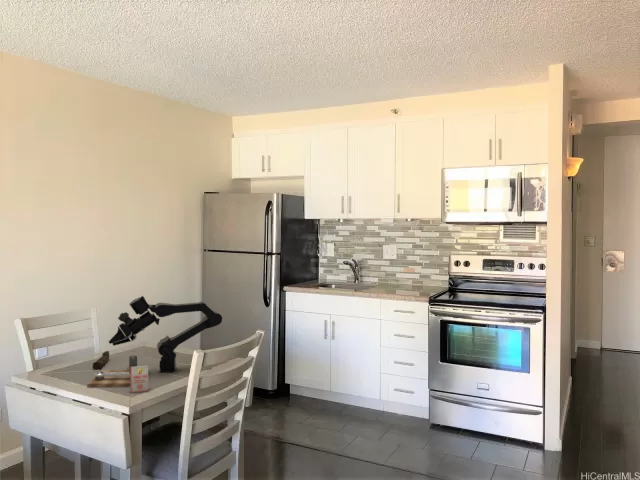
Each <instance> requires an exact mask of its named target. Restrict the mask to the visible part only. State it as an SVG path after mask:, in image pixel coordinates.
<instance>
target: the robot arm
mask: <svg viewBox="0 0 640 480" xmlns="http://www.w3.org/2000/svg"><path fill="white" fill-rule="evenodd" d="M128 305H129V306H130V308H131V309H132V310H133V312H134V314H135V315H139V317H137V318H136V317H134V318H131V317H129V316H130V314H129V313H127V312H126V311H125V312H124V313H123V312H121V313H119V316H118V317H117V320H119V321H120V322H122V323H120V324H119V325H118V327H117V332H116V333H115V334H114V335H113V336H112V337H111V338H110V340H108V343H109V345H110V344H112V346H118V345H122V344H126V343H130V342H134V341H135V340H137V335H138V334H139V333H140V332H143V331H145V329H146V328H148V327H150V326H151V325H152V324H154V323H155V324H156V325H157V326H159V324H160V320H161V319H160V318H165V317H169V316H171V315H174V314H181V313H182V314H183V313H193V312H202V314H204V315H205V316H204V317H203V318H202V319H201V320H199V322H196V323H195V324H193V325H191V326H189V327H188V328H186V329H185V330H183V331H181V332H180V333H178V334H176V335H175V336H172V337H170V336H169V335H166V336H165V337H164V338H162V339H159V341H158V342H157V344H156V350H157V352H158V354H159V355H160V356H161V357H160V360H159V373H175V372H176V370H177V369H178V368H177V353H176V352H175V349H177V347H179V345H181V344H183V343H184V342H186V341H188V340H190V339H191V338H192V337H195V336H196V335H198V334H199V333H201V332H203V331H204V330H207V329H211V328H214V327H217V326H219V325H221V324H222V321H223V316H222V315H221V314H220V313H219V312H218V311H216V310H213V309H211V308H210V307H209V306H208V305H207V304H206V303H205V302H204V301H199V302H189V303H187V302H186V303H167V302H157V303H156V304H149V303H148V302H147V301H146V298H145V297H144V295H142V296H140V297H138V298H135V299H133V300H132V301H131V302H129V304H128ZM150 311H151V312H150Z"/></svg>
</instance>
